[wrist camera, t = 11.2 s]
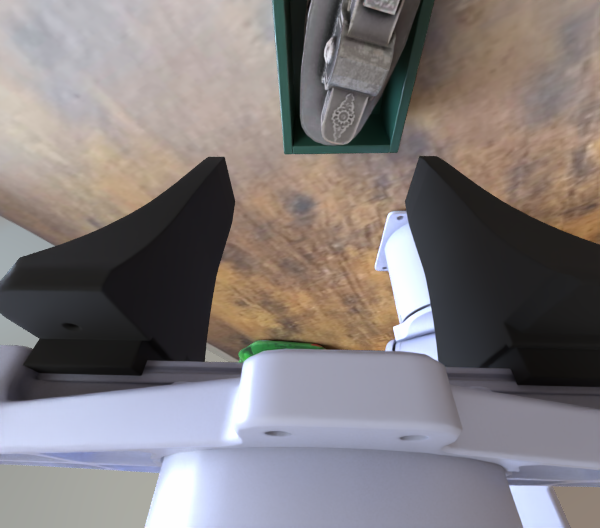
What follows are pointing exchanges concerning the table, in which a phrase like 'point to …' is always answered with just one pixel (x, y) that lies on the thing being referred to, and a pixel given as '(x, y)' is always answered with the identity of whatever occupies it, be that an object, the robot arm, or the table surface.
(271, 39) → the table surface
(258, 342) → the snack package
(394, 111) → the green open box
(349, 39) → the lighter
